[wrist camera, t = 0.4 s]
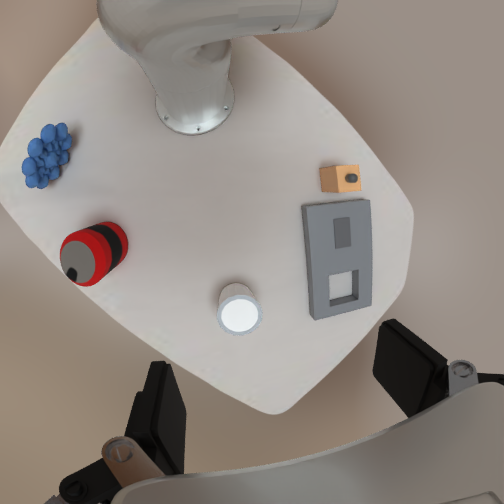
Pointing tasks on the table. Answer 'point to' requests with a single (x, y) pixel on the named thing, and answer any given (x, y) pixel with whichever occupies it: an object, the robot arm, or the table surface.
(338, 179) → the block
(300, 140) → the table surface
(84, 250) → the soda can
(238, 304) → the white short cylinder
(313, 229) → the socket plate
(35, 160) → the grapes
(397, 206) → the table surface
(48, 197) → the table surface
